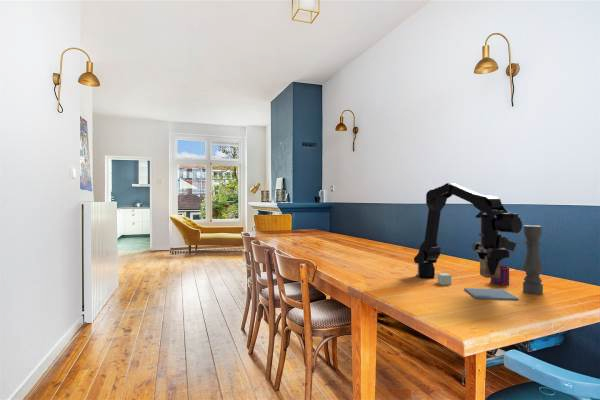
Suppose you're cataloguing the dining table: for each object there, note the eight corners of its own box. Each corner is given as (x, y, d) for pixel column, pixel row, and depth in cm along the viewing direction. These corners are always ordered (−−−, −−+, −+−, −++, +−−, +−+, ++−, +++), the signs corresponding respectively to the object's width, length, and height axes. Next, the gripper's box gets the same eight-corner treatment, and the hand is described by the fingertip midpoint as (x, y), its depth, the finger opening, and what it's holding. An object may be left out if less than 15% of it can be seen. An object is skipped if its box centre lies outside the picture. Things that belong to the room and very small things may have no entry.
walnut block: (485, 277, 123) (485, 261, 123) (479, 274, 128) (479, 258, 128) (500, 277, 122) (500, 261, 122) (494, 274, 127) (494, 258, 127)
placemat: (475, 298, 120) (475, 297, 120) (464, 289, 132) (464, 288, 132) (518, 300, 118) (518, 298, 118) (503, 290, 130) (503, 289, 130)
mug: (510, 282, 142) (510, 266, 142) (505, 287, 135) (505, 270, 135) (493, 280, 147) (492, 264, 147) (486, 284, 139) (486, 268, 139)
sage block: (441, 285, 140) (441, 275, 140) (437, 282, 144) (437, 273, 144) (451, 285, 140) (451, 275, 140) (446, 282, 144) (446, 273, 144)
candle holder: (539, 290, 130) (539, 225, 130) (545, 295, 124) (545, 226, 124) (520, 289, 132) (520, 225, 132) (525, 293, 126) (525, 226, 126)
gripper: (526, 233, 115) (526, 279, 115) (501, 228, 133) (501, 268, 133) (491, 233, 116) (491, 278, 116) (471, 228, 135) (471, 267, 135)
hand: (489, 272), depth 125 cm, fingers closed on walnut block, 5 cm apart
